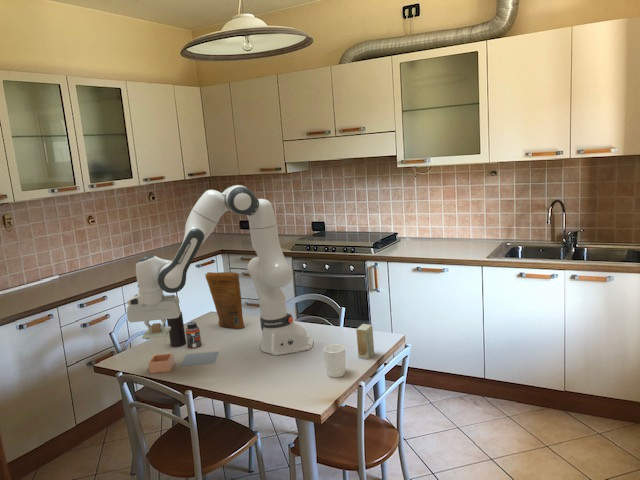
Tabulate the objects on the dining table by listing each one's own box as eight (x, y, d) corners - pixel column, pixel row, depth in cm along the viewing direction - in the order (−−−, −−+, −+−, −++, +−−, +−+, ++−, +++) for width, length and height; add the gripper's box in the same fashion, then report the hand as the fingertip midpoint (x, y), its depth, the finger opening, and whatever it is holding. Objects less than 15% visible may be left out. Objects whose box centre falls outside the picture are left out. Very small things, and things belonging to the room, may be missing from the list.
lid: (171, 328, 213) (169, 319, 212) (165, 336, 204) (164, 327, 203) (148, 330, 213) (147, 321, 212) (142, 338, 204) (141, 329, 203)
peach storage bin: (174, 364, 216) (173, 353, 215) (170, 373, 208) (168, 361, 207) (155, 366, 215) (153, 355, 214) (150, 374, 207) (148, 363, 206)
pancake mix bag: (241, 331, 247) (234, 274, 241) (210, 327, 256) (203, 271, 251) (250, 326, 252) (243, 270, 247) (220, 322, 262) (213, 268, 257)
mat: (219, 352, 224) (218, 351, 224) (214, 364, 212) (214, 363, 212) (186, 355, 223) (185, 354, 223) (180, 367, 212) (179, 366, 212)
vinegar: (187, 346, 234) (181, 303, 231) (172, 349, 232) (166, 306, 228) (184, 341, 240) (178, 299, 237) (169, 344, 238) (163, 302, 234)
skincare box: (365, 351, 212) (362, 323, 209) (374, 353, 210) (372, 324, 207) (357, 358, 206) (355, 328, 204) (367, 359, 204) (365, 330, 202)
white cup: (334, 367, 200) (332, 342, 198) (351, 371, 195) (349, 346, 193) (321, 375, 194) (319, 350, 192) (338, 380, 189) (336, 354, 187)
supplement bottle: (198, 349, 229) (194, 325, 227) (185, 349, 230) (182, 325, 228) (203, 344, 235) (200, 320, 232) (191, 344, 236) (188, 320, 234)
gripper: (179, 292, 209) (184, 324, 212) (128, 296, 208) (133, 329, 211) (176, 296, 203) (181, 330, 205) (123, 301, 202) (128, 335, 205)
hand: (156, 330), depth 208 cm, fingers closed on lid, 3 cm apart
